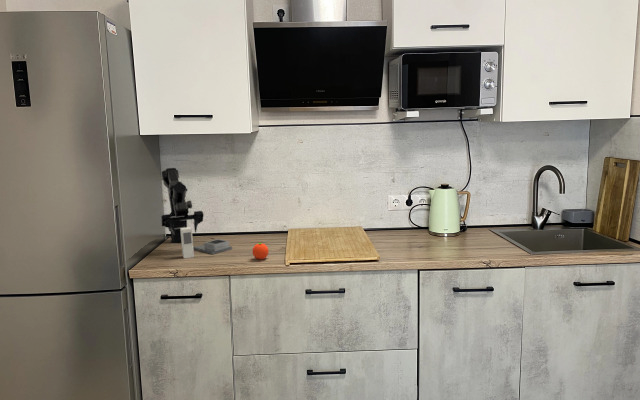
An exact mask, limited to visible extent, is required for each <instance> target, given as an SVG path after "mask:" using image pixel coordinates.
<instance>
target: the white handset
mask: <svg viewBox="0 0 640 400" xmlns="http://www.w3.org/2000/svg"><path fill="white" fill-rule="evenodd" d="M180 232H181V243H180V244H181V252H182V257H183V259H191V258H194V257H195V252H194V251H195V250H193V247H194V240H193V229H192V227H191V226H187V227H186V228H180Z"/></svg>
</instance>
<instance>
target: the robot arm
mask: <svg viewBox="0 0 640 400" xmlns="http://www.w3.org/2000/svg"><path fill="white" fill-rule="evenodd" d="M179 175H180V174H179V170H178V169H177V168H176V167H167V168H165V170H163V171H161V173H160V177H162V178H161V181H162V182H163V185H164V186H165V187H166V189H167V192H168V193H167V194H168V199H169V200H168V201H169V207H170V213H167V214H166V213H165V214H162V215H161V216H160V217H161V219H160V221H161V227H164V228H167V229H168V231H169V232H170V241H169V243H171V244H178V243H179V244H182V243H181V232H180V228H186V227H188V221H189V220H193V226H194V233H195V234H196V233H197V230H198V229H197V228H198V225H199V224H201V223H202V222H203V221H204V211H202V210H195V211H194V210H193V214H189V213H190V211H189V209H192V208H193V204H192V200H187V201H186V196H187V192H188V188H187V186H186V185H185V184H184V183H183V181H180V179H179V178H180V176H179Z"/></svg>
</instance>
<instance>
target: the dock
mask: <svg viewBox="0 0 640 400" xmlns="http://www.w3.org/2000/svg"><path fill="white" fill-rule="evenodd" d="M193 250H194V251H197V252H201V253H204V254H210V255H216V254H219V253H224V252H226V251H231V250H233V247H232V246H230V241H229V240H225V239H221V238H218V239H217V238H216V239H213V240H210V241H205V242H204V244H200V245H199V244H198V245H195V246H193Z"/></svg>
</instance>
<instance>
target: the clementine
mask: <svg viewBox="0 0 640 400" xmlns="http://www.w3.org/2000/svg"><path fill="white" fill-rule="evenodd" d="M252 255H253V257H254V258H255V259H257V260H264V259H265V258H267V256H268V255H269V247H268V246H267V245H266V244H264V243H262V242H258V243H257V244H255V245H254V246H253V247H252Z"/></svg>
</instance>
